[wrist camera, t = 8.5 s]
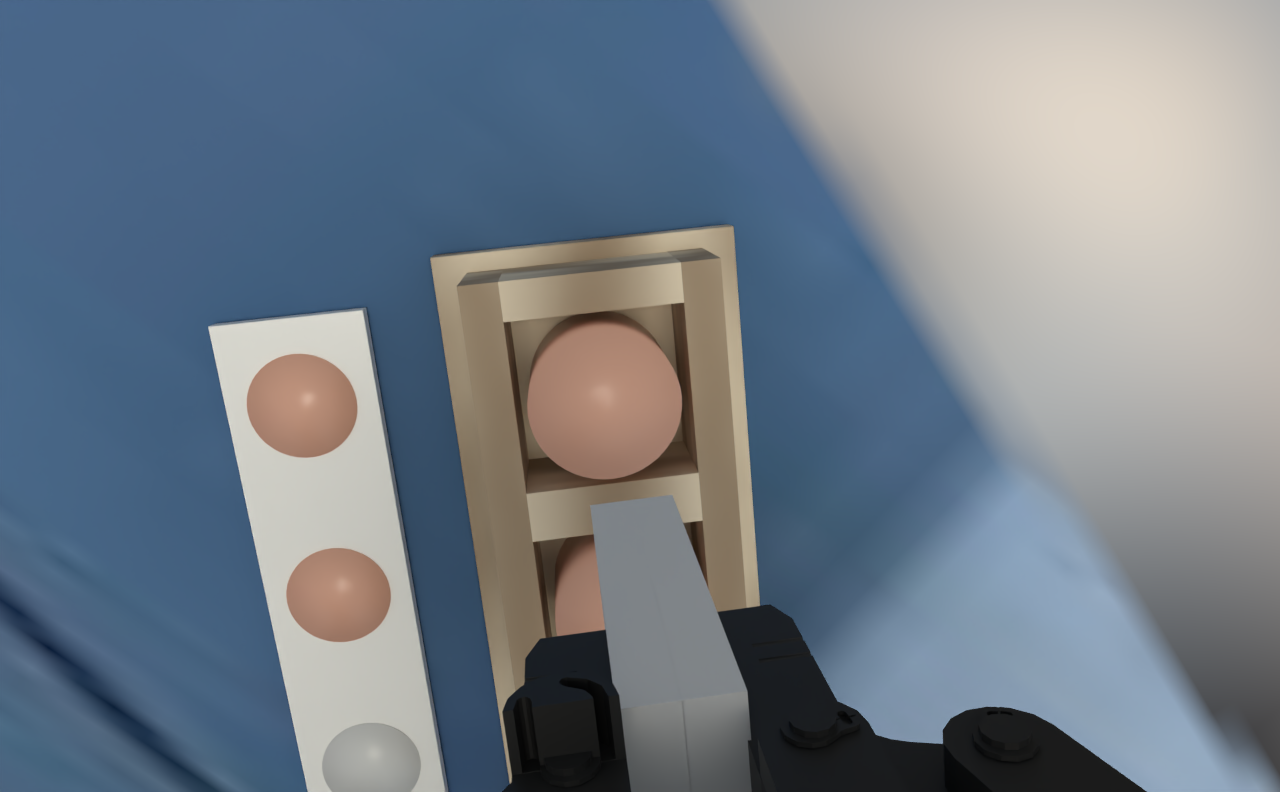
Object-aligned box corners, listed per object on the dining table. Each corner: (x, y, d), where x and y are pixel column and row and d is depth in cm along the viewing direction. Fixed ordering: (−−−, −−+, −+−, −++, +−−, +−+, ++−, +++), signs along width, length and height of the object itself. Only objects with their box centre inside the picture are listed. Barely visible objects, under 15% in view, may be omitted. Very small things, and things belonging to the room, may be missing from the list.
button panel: (521, 836, 37) (517, 925, 33) (434, 255, 31) (415, 269, 27) (768, 800, 38) (797, 882, 33) (727, 224, 32) (755, 233, 28)
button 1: (538, 453, 32) (537, 487, 28) (521, 319, 30) (517, 338, 27) (673, 437, 32) (688, 469, 28) (661, 303, 31) (675, 321, 27)
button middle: (562, 639, 33) (564, 693, 30) (547, 519, 32) (547, 561, 29) (690, 622, 34) (705, 674, 30) (679, 503, 32) (694, 542, 29)
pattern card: (322, 832, 36) (318, 844, 35) (214, 323, 31) (207, 327, 31) (452, 813, 36) (450, 825, 36) (366, 307, 32) (362, 310, 31)
